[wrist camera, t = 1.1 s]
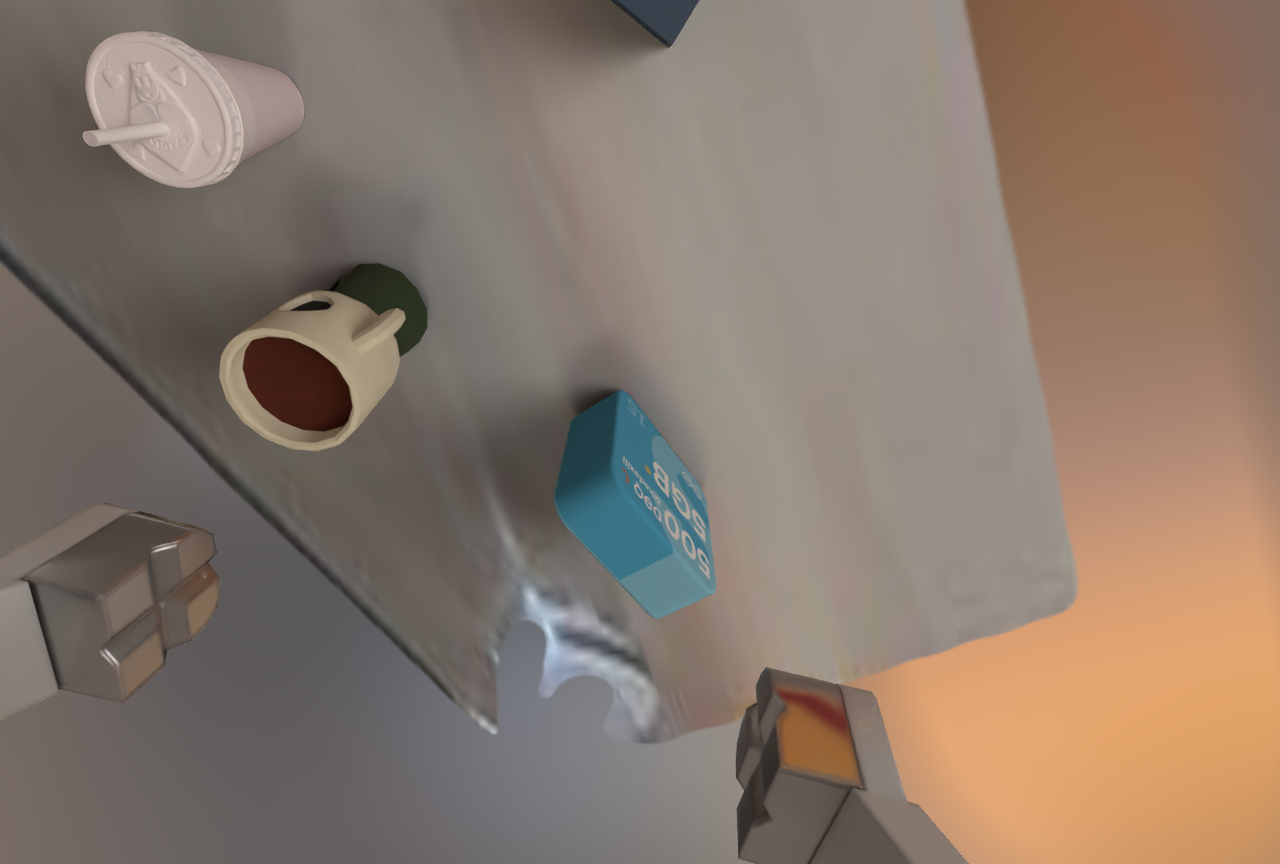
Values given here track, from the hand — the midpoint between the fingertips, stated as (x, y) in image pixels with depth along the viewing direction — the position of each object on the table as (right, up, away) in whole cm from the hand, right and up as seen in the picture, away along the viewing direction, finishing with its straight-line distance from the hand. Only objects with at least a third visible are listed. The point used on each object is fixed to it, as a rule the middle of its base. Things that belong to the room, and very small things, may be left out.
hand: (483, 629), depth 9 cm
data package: (+2, +1, +39) cm, 40 cm away
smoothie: (-19, +22, +27) cm, 40 cm away
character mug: (-15, +12, +34) cm, 39 cm away
